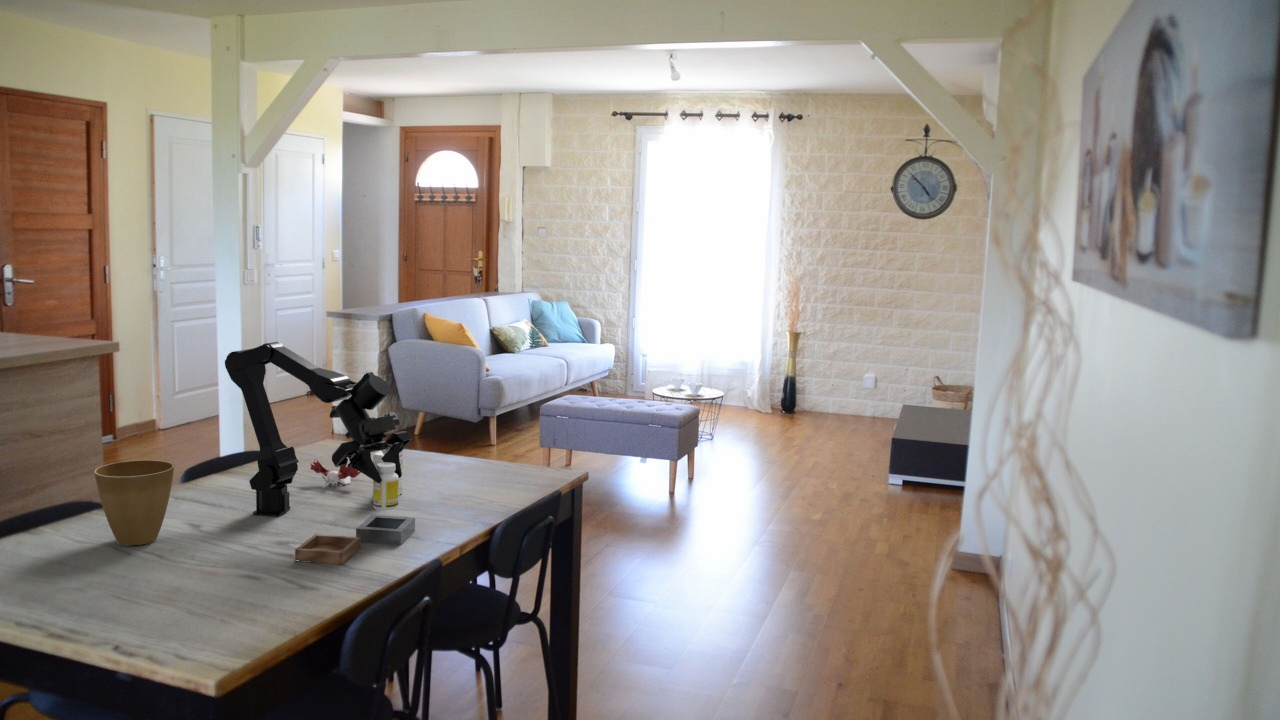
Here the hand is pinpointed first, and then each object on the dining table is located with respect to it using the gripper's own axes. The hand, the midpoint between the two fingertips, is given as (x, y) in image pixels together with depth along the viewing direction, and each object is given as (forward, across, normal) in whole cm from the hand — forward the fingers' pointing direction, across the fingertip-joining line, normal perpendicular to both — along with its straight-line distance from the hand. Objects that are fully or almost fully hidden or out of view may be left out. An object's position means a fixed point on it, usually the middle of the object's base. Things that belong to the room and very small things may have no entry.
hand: (390, 479), depth 213 cm
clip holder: (+8, 0, +10) cm, 13 cm away
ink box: (-7, +21, +27) cm, 35 cm away
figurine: (-20, +20, +40) cm, 48 cm away
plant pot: (-16, -36, +36) cm, 54 cm away
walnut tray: (+9, -16, +10) cm, 21 cm away
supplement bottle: (+4, 0, +6) cm, 7 cm away
